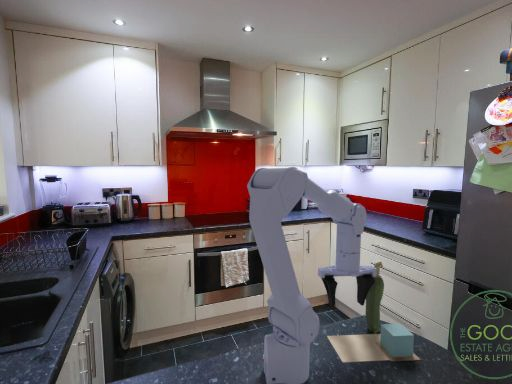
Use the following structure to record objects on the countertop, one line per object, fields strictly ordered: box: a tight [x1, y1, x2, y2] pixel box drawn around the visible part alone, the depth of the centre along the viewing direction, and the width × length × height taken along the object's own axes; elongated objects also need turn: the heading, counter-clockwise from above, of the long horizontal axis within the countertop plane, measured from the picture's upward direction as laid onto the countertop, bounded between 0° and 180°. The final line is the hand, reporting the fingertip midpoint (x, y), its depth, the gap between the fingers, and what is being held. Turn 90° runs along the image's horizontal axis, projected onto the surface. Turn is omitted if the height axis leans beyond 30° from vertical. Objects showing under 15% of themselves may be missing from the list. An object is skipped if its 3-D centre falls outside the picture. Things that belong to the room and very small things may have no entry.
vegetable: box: [365, 261, 385, 334], centre depth 73 cm, size 4×4×20 cm
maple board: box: [326, 333, 421, 363], centre depth 65 cm, size 18×10×1 cm, turn 95°
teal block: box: [380, 323, 415, 357], centre depth 64 cm, size 5×5×5 cm
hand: (346, 304), depth 67 cm, fingers open, 7 cm apart
